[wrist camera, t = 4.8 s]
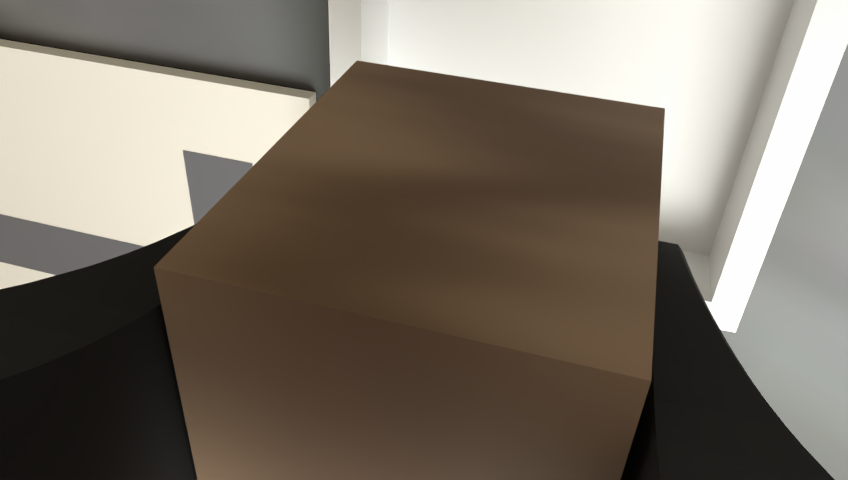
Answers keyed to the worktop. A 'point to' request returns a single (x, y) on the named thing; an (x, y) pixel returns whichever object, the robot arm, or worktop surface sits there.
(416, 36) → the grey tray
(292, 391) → the walnut block
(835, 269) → the worktop surface
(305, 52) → the worktop surface
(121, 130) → the letter board
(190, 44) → the worktop surface
